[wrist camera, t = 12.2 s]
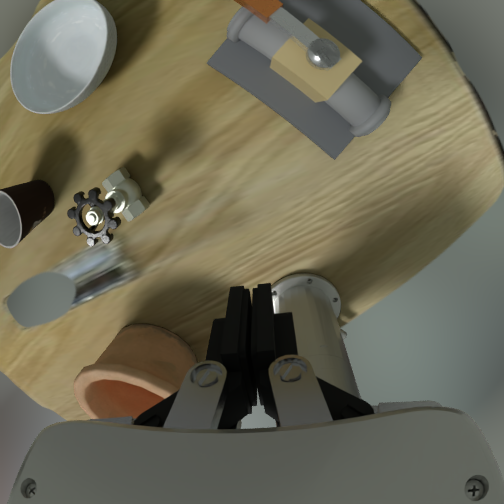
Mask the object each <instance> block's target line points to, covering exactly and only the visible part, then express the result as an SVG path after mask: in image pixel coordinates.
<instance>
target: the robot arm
mask: <svg viewBox="0 0 504 504" xmlns="http://www.w3.org/2000/svg"><path fill="white" fill-rule="evenodd" d="M340 310H341V301H340V297H339V294H338V292H337V290H336V288H335V287H334V286H333V284H332V283H331V282H329V281H328V280H327V279H325V278H323V277H321V276H318V275H314V274H307V273H302V274H294V275H290V276H287V277H285V278H283V279H280V280H279V281H277V282H276V283H274V284H273V285H272V286H271V283H266V284H258V288H253V297H252V303H251V297H250V291H249V289H244V286H236V287H230V292H229V298H228V305H227V311H226V318H219V319H214V321H213V325H212V330H211V335H210V340H209V345H208V350H207V355H206V361H203V362H199V363H197V364H195V365H193V366H192V367H191V368H190V369H189V370H188V372H187V374H186V376H185V378H184V380H183V383H182V385H181V387H180V389H179V390H178V391H176V392H175V393H173V394H172V395H170V396H169V397H167V398H165V399H164V400H162V401H161V402H159V403H157V404H156V405H154V406H153V407H151V408H149V409H148V410H146V411H144V412H143V413H141V414H140V415H139V416H138V417H137V418H134V419H133V417H132V416H127V417H116V418H103V419H90V420H74V421H66V422H59V423H55V424H52V425H50V426H48V427H46V428H44V429H43V430H42V431H41V432H40V433H39V435H38V436H37V437H36V439H35V440H34V442H33V444H32V446H31V447H30V449H29V451H28V453H27V455H26V457H25V459H24V461H23V463H22V465H21V468H20V470H19V472H18V475H17V478H16V480H15V483H14V485H13V488H12V491H11V494H10V497H9V500H8V502H7V504H504V481H503V478H502V475H501V472H500V469H499V467H498V464H497V461H496V459H495V457H494V455H493V452H492V450H491V448H490V446H489V444H488V442H487V440H486V438H485V436H484V434H483V433H482V431H481V429H480V428H479V426H478V425H477V423H476V422H475V421H474V420H473V419H472V418H471V417H470V416H469V415H468V414H467V413H465V412H463V411H461V410H458V409H454V408H449V407H442V406H441V405H440V404H439V403H437V402H435V401H413V402H392V403H379V405H378V406H371V405H370V404H368V403H367V402H366V401H364V400H362V399H361V396H360V393H359V390H358V387H357V384H356V381H355V377H354V374H353V371H352V367H351V364H350V361H349V358H348V354H347V351H346V348H345V344H344V341H343V339H345V338H346V336H347V333H346V332H345V331H343V330H342V329H340V327H339V324H338V321H337V319H338V317H339V314H340ZM257 389H258V394H259V399H260V404H261V405H264V409H265V413H266V414H268V415H269V416H270V417H272V418H273V419H275V420H276V426H277V427H272V428H255V429H241V419H242V418H243V417H245V416H246V415H247V414H251V413H252V406H256V405H257Z"/></svg>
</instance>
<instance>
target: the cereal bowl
mask: <svg viewBox="0 0 504 504" xmlns="http://www.w3.org/2000/svg"><path fill="white" fill-rule="evenodd" d="M116 46H117V31H116V26H115V22H114V20H113V18H112V16H111V14H110V13H109V12H108V10H107V9H106V8H105V7H104V6H103V5H102V4H100V3H99V2H97V1H96V0H55V1H53V2H51V3H50V4H48V5H47V6H45V7H44V8H43V9H41V10H40V11H39V12H38V13H37V14H36V15H35V16H34V17H33V18H32V19H31V20H30V22H29V23H28V24H27V26H26V27H25V29H24V30H23V32H22V33H21V35H20V37H19V39H18V41H17V44H16V46H15V49H14V52H13V56H12V61H11V71H10V75H11V84H12V88H13V91H14V94H15V96H16V98H17V99H18V101H19V102H20V104H21V105H22V106H24V107H25V108H26V109H28V110H29V111H31V112H34V113H39V114H50V113H56V112H60V111H64V110H67V109H69V108H71V107H74V106H76V105H77V104H79V103H81V102H82V101H83V100H84V99H86V98H87V97H88V96H89V95H91V94H92V93H93V91H94V90H96V88H97V87H98V86H99V85H100V83H101V82H102V81H103V79H104V78H105V76H106V74H107V73H108V70H109V69H110V66H111V64H112V62H113V59H114V56H115V52H116Z"/></svg>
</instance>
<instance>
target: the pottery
mask: <svg viewBox="0 0 504 504" xmlns="http://www.w3.org/2000/svg"><path fill="white" fill-rule="evenodd" d="M195 364H197V361H196V356H195V355H194V353H193V351H192V349H191V348H190V346H189V345H188V344H187V343H186V342H184V341H183V340H182V339H181V338H180V337H179V336H178V335H176V334H174V333H172V332H170V331H168V330H166V329H164V328H161V327H157V326H153V325H150V324H133V325H130V326H128V327H125V328H123V329H121V331H120V332H119V333H118V334H117V335H116V337H115V338H114V340H113V341H112V342H111V343H110V345H109V346H108V347H107V348H106V350H105V351H104V352H103V353H102V355H101V356H100V357H99V359H98V360H97V361H96V362H95V364H92V365H89V366H86V367H84V368H83V369H82V370H81V372H80V373H79V374H78V375H77V377H76V379H75V380H74V394H75V397H76V398H77V400H78V402H79V404H80V406H81V408H82V409H83V410H84V411H85V412H86V413H87V414H88V415H89V416H90V417H91V418H92V419H103V418H116V417H127V416H132V417H133V419H134V418H137V417H138V416H139V415H140V414H141V413H143V412H144V411H146V410H148V409H149V408H151V407H153V406H154V405H156V404H157V403H159V402H161V401H162V400H164V399H165V398H167V397H169V396H170V395H172V394H173V393H175V392H176V391H178V390H179V389H180V387H181V385H182V383H183V380H184V378H185V376H186V374H187V372H188V370H189V369H190V368H191V367H192V366H193V365H195Z"/></svg>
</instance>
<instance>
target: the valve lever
mask: <svg viewBox="0 0 504 504" xmlns="http://www.w3.org/2000/svg"><path fill="white" fill-rule="evenodd" d="M234 1H236V2H237V3H239V4H240V5H241V6H243V7H244V8H246V9H247V10H249V11H250V12H251V13H253V14H254V15H255V16H257V17H258V18H259V19H261V20H262V21H263V22H265V23H266V24H267V23H268V22H270V23H271V24H273V25H274V26H275V27H277V28H278V29H279V30H280V31H282V32H283V33H284V34H285V35H286V36H288V37H289V38H290V39H291V40H292V41H294V42H295V43H296V44H297V45H298V46H300V47H301V48H302V49H303V50H304V51H305V52H306V53H305V55H306V59H307V61H308V63H309V64H310V65H311V66H312V67H314V68H316V69H319V70H326V71H328V70H330V69H331V68H332V67H333V66H334V65H335V64H336V63H338V62H339V61H340V60H341V58H340V51H339V48H338V46H337V45H336V44H335V43H334V42H333V41H331V40H329V39H325V38H319V37H318V36H317V35H315V34H314V33H313V32H312V31H311V30H310V29H308V28H307V27H306V26H305V25H304V24H302V23H301V22H300V21H299V20H298V19H296V18H295V17H294V16H293V15H291V14H290V13H289V12H287V11H286V10H285V9H284V8H283V3H281V2H280V1H279V0H234Z"/></svg>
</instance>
